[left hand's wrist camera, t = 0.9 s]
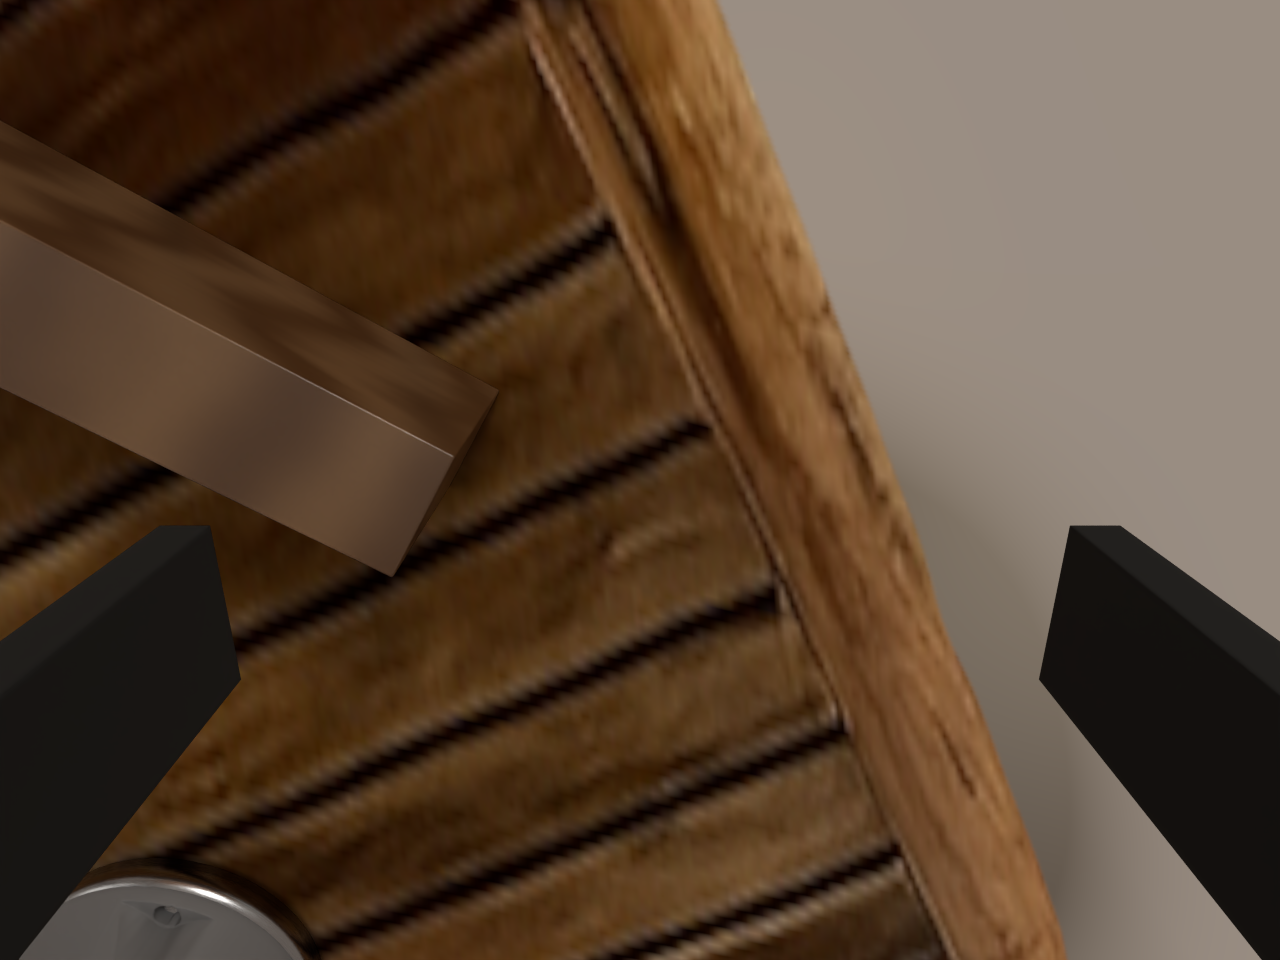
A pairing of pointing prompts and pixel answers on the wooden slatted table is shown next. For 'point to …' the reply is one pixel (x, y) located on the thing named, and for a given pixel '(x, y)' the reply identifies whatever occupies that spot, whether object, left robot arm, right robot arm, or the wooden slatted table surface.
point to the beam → (221, 362)
